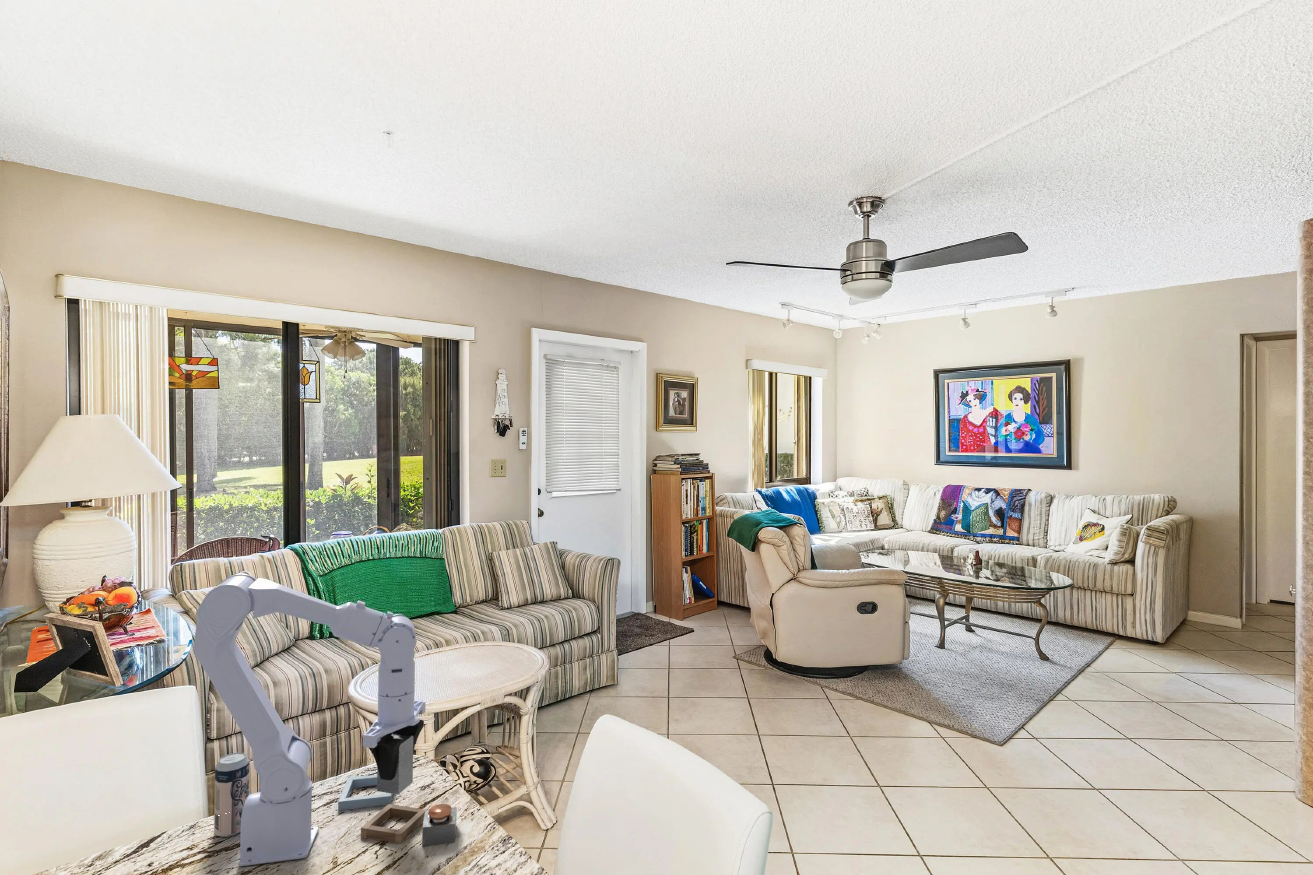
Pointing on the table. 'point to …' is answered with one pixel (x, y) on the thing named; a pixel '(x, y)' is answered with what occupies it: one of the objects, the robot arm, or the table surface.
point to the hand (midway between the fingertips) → (395, 772)
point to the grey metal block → (399, 767)
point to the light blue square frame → (362, 800)
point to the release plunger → (439, 813)
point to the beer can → (230, 793)
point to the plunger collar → (439, 830)
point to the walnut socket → (388, 834)
